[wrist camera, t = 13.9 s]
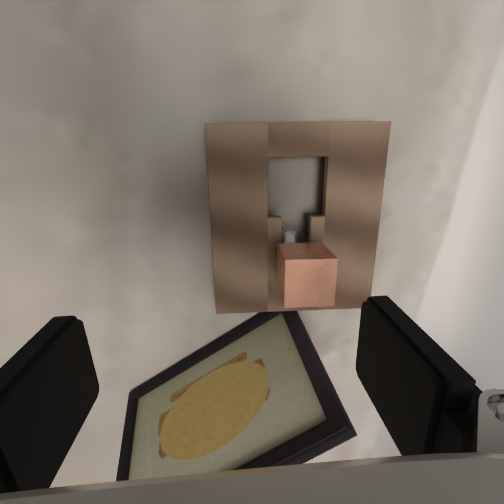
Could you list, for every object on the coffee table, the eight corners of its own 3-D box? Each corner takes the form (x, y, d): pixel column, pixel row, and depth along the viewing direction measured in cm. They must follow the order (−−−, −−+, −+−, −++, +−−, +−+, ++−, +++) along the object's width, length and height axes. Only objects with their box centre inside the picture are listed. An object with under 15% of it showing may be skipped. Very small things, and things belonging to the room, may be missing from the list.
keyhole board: (208, 127, 29) (205, 123, 25) (373, 125, 29) (391, 121, 26) (218, 298, 34) (216, 313, 31) (356, 293, 35) (369, 307, 31)
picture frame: (287, 294, 34) (335, 408, 21) (322, 344, 38) (383, 469, 24) (128, 391, 37) (78, 546, 24) (174, 428, 41) (154, 583, 27)
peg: (268, 227, 32) (282, 257, 22) (309, 226, 32) (340, 255, 23) (268, 266, 33) (281, 310, 24) (307, 265, 33) (336, 308, 24)
